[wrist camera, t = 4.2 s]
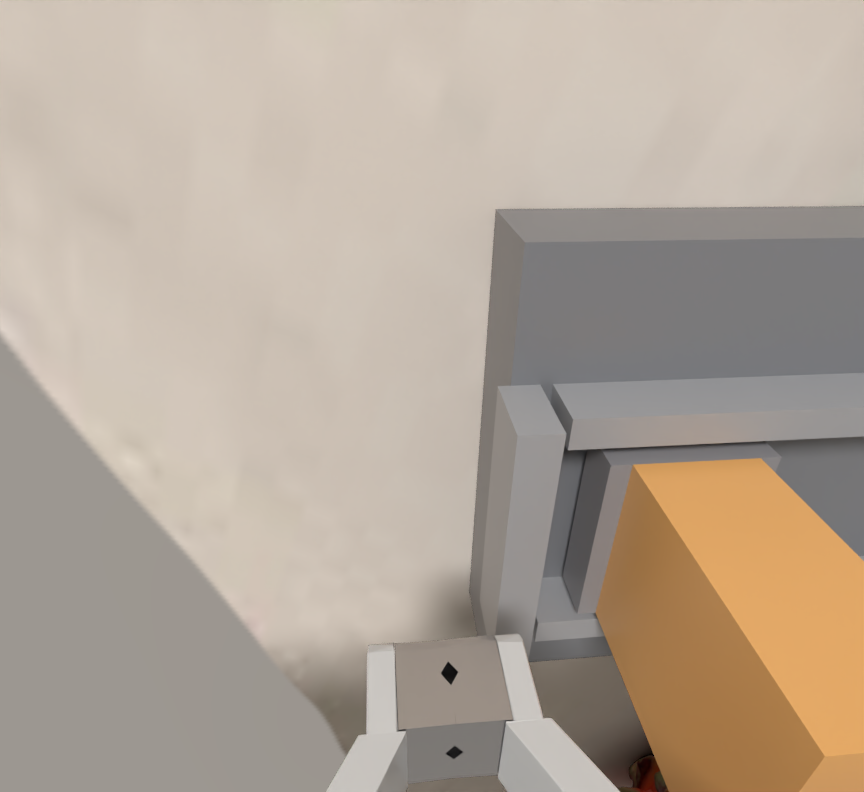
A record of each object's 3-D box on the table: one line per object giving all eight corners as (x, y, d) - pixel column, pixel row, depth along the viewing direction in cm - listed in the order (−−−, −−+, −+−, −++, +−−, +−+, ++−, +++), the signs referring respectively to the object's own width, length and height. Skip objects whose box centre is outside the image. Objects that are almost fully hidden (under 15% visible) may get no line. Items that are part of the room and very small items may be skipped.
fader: (590, 432, 13) (788, 761, 7) (748, 425, 13) (1071, 731, 7) (563, 575, 16) (688, 909, 9) (695, 566, 16) (901, 882, 10)
